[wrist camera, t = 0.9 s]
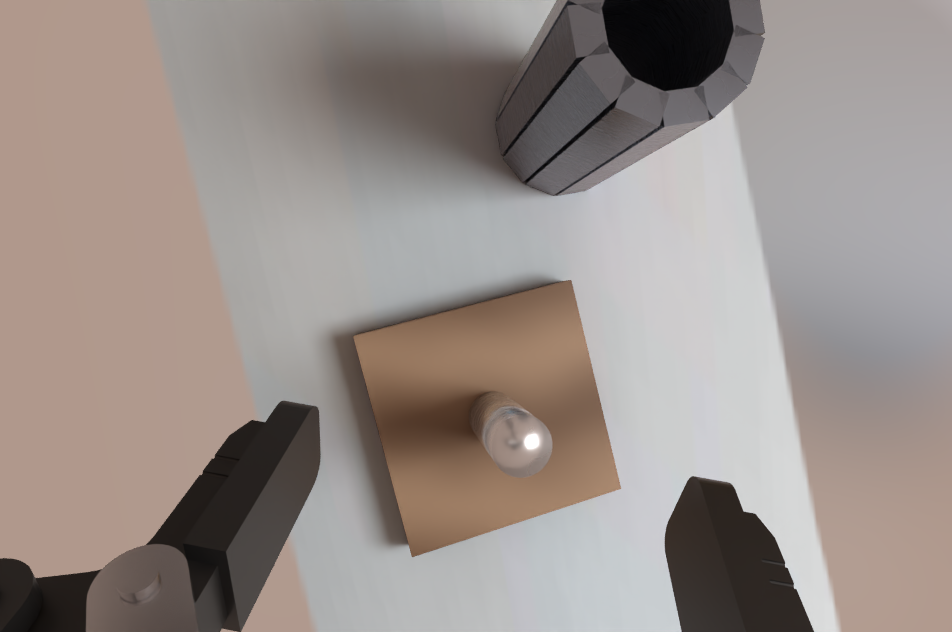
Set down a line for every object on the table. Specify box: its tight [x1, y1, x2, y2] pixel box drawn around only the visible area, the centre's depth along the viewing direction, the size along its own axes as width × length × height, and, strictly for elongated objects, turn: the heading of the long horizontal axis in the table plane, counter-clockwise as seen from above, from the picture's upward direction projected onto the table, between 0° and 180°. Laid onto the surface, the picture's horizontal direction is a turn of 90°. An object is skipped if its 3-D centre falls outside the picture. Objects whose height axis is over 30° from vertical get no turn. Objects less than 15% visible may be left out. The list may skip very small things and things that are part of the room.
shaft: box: [469, 391, 552, 478], centre depth 21 cm, size 2×2×5 cm
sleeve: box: [496, 0, 765, 196], centre depth 20 cm, size 6×6×10 cm
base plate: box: [353, 280, 621, 557], centre depth 24 cm, size 10×10×1 cm
